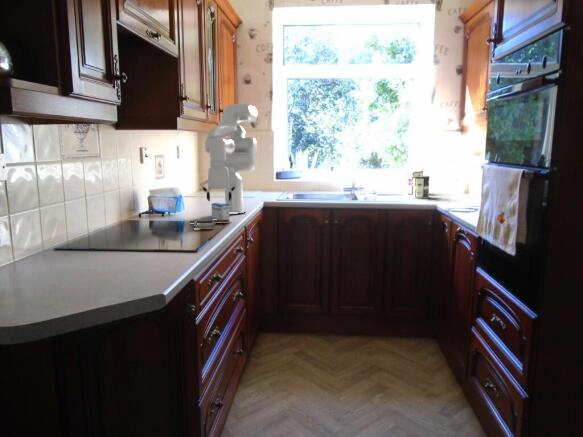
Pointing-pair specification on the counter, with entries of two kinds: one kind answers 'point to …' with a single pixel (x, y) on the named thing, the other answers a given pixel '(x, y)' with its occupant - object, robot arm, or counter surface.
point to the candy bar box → (410, 179)
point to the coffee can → (420, 186)
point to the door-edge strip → (215, 220)
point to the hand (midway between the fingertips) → (219, 200)
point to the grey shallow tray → (204, 225)
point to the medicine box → (220, 211)
